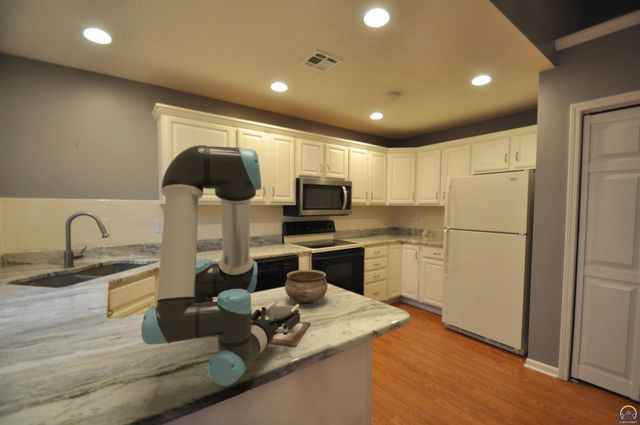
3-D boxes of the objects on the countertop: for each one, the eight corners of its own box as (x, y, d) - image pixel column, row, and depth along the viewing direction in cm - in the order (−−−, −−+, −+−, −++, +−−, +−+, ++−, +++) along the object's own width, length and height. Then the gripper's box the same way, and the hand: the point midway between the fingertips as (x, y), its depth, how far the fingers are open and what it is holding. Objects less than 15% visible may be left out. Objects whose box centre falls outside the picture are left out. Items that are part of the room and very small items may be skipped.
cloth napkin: (247, 340, 83) (247, 338, 83) (269, 319, 99) (269, 317, 99) (295, 347, 79) (295, 344, 79) (310, 324, 95) (310, 322, 95)
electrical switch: (267, 333, 86) (268, 307, 87) (270, 328, 91) (270, 303, 92) (293, 333, 87) (293, 307, 87) (294, 328, 91) (294, 303, 92)
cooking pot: (284, 293, 128) (284, 268, 128) (322, 291, 131) (322, 267, 131) (285, 314, 103) (285, 283, 103) (332, 311, 106) (332, 281, 106)
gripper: (221, 346, 74) (259, 314, 96) (291, 356, 69) (314, 320, 91) (221, 320, 74) (259, 294, 96) (291, 328, 69) (314, 299, 91)
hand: (286, 306), depth 93 cm, fingers closed on electrical switch, 8 cm apart
